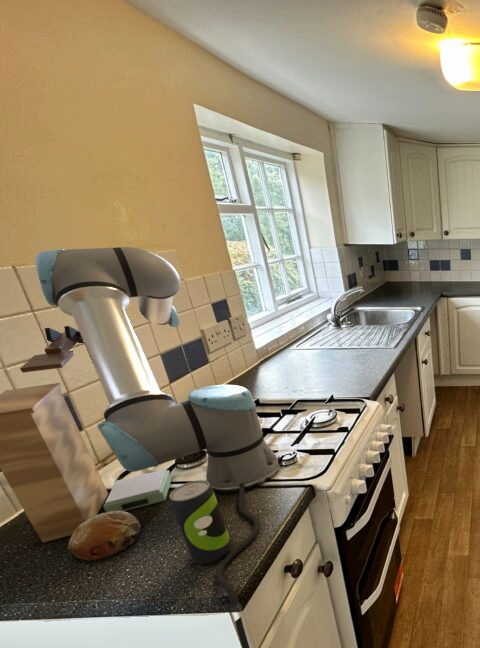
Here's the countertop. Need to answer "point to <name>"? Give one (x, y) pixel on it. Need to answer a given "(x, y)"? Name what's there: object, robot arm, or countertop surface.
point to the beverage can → (200, 521)
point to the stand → (48, 461)
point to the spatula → (51, 355)
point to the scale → (138, 491)
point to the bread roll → (104, 535)
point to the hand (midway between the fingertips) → (58, 332)
